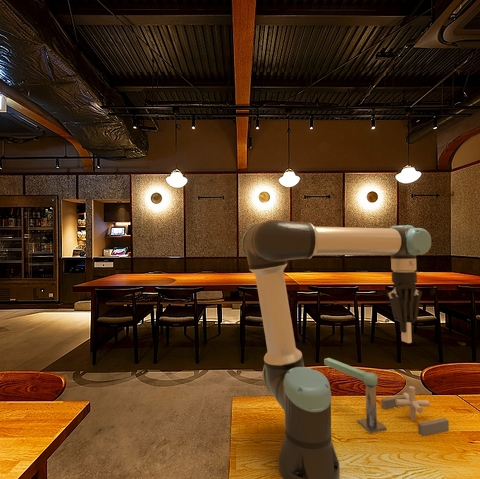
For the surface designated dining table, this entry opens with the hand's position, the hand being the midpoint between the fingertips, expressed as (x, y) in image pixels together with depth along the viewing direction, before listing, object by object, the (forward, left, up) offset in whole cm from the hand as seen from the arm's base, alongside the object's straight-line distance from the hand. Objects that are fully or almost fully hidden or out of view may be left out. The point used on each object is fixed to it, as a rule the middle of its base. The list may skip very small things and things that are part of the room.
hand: (406, 341), depth 100 cm
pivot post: (-15, -1, -25) cm, 29 cm away
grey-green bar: (-18, +7, -11) cm, 22 cm away
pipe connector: (+1, -1, -25) cm, 25 cm away
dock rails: (+1, -1, -25) cm, 25 cm away
